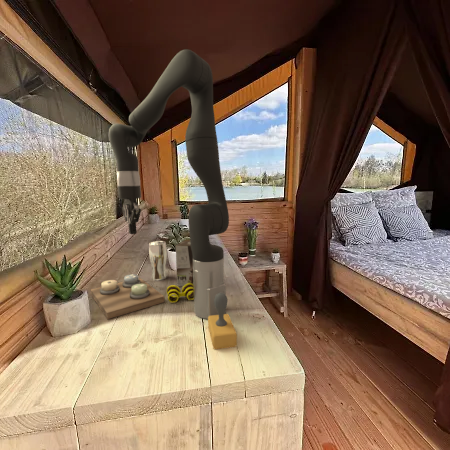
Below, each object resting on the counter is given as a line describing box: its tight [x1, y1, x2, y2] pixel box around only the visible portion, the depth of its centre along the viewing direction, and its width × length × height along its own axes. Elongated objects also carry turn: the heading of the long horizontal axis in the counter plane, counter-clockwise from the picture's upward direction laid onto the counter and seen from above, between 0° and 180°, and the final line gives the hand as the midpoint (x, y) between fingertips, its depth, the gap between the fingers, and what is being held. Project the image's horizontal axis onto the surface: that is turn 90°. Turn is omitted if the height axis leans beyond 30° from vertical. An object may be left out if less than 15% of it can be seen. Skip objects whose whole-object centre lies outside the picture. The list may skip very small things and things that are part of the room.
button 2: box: [131, 284, 147, 295], centre depth 91 cm, size 5×5×2 cm
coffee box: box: [175, 240, 194, 287], centre depth 106 cm, size 9×6×16 cm
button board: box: [90, 277, 165, 320], centre depth 94 cm, size 22×18×3 cm
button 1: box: [100, 279, 118, 291], centre depth 95 cm, size 5×5×2 cm
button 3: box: [123, 273, 139, 284], centre depth 100 cm, size 5×5×2 cm
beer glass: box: [148, 240, 168, 282], centre depth 111 cm, size 7×7×15 cm
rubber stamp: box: [207, 293, 238, 350], centre depth 70 cm, size 10×6×12 cm, turn 11°
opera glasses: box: [166, 283, 194, 303], centre depth 93 cm, size 10×5×5 cm, turn 108°
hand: (132, 233), depth 97 cm, fingers closed
